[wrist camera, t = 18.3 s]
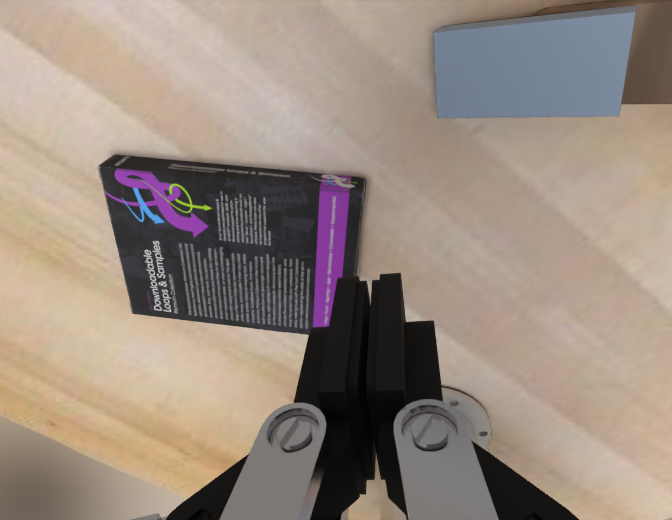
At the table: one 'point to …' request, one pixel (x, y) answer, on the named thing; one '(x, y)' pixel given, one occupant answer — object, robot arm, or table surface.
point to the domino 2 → (642, 49)
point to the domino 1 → (534, 65)
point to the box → (232, 240)
